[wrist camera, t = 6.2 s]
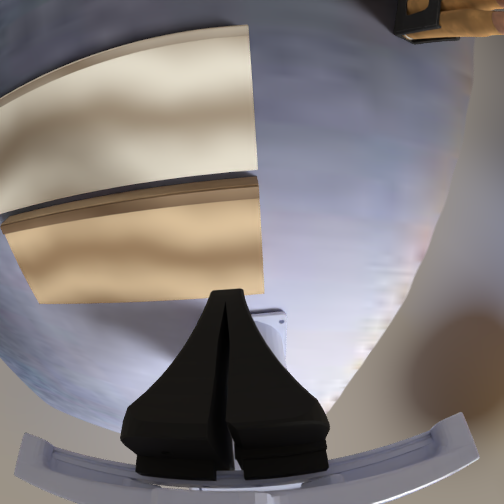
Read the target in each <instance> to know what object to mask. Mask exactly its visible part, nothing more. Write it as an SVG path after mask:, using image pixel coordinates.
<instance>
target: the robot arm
mask: <svg viewBox="0 0 504 504" xmlns="http://www.w3.org/2000/svg"><path fill="white" fill-rule="evenodd" d="M280 320H282V321H280ZM286 335H287V315H286V313H285V312H272V313H261V314H250V311H249V309H248V306H247V303H246V300H245V296H244V290H243V289H241V288H237V289H225V290H213V291H212V292H211V293H210V296H209V298H208V301H207V304H206V306H205V308H204V311H203V313H202V315H201V317H200V319H199V321H198V323H197V325H196V327H195V329H194V330H193V332H192V334H191V336H190V337H189V339H188V341H187V342H186V344H185V345H184V347H183V349H182V350H181V351H180V353H179V354H178V356H177V357H176V358H175V360H174V361H173V362H172V364H171V365H170V366H169V367H168V369H167V370H166V371H165V372H164V373H163V374H162V376H161V377H160V378H159V379H158V380H157V381H156V382H155V383H154V384H153V385H152V386H151V387H150V388H149V389H148V390H147V391H146V392H145V393H144V394H143V395H142V396H140V397H139V398H138V399H137V400H136V401H135V402H133V403H132V404H131V405H130V406H129V407H128V408H127V411H126V414H125V417H124V420H123V425H122V430H121V436H120V439H121V441H122V443H123V444H124V445H125V446H126V447H128V448H129V449H130V450H132V451H133V452H134V453H135V454H137V460H136V465H132V464H126V463H120V462H115V461H109V460H104V459H100V458H95V457H90V456H86V455H82V454H79V453H75V452H71V451H68V450H64V449H61V448H57V447H54V446H53V445H52V444H50V443H49V442H48V441H46V440H44V439H42V438H40V437H37V436H34V435H31V434H28V433H24V436H23V439H22V443H21V447H20V451H19V455H18V459H17V463H16V468H15V472H14V475H15V476H16V477H18V478H20V479H22V480H24V481H26V482H28V483H30V484H32V485H34V486H36V487H38V488H40V489H42V490H45V491H47V492H49V493H52V494H54V495H56V496H59V497H62V498H64V499H67V500H70V501H73V502H75V503H78V504H383V503H386V502H389V501H392V500H395V499H398V498H400V497H403V496H405V495H408V494H411V493H413V492H415V491H418V490H420V489H422V488H425V487H427V486H429V485H431V484H434V483H436V482H438V481H440V480H442V479H444V478H446V477H448V476H450V475H452V474H454V473H456V472H457V471H459V470H461V469H463V468H465V467H466V466H468V465H470V464H471V463H473V462H475V461H476V460H478V459H479V454H478V451H477V448H476V446H475V443H474V440H473V437H472V435H471V433H470V430H469V427H468V425H467V422H466V420H465V418H464V415H463V413H462V412H459V413H457V414H455V415H453V416H451V417H448V418H446V419H444V420H442V421H440V422H438V423H437V424H435V425H434V426H433V427H432V428H431V430H429V431H427V432H424V433H421V434H419V435H416V436H413V437H411V438H408V439H405V440H402V441H399V442H396V443H393V444H390V445H387V446H383V447H380V448H377V449H373V450H369V451H366V452H362V453H358V454H354V455H350V456H345V457H341V458H336V459H331V460H328V458H327V453H326V449H327V445H326V440H325V438H326V436H327V434H328V432H329V430H330V425H329V422H328V419H327V416H326V414H325V412H324V410H323V408H322V407H321V405H320V403H319V402H318V400H317V399H316V398H315V397H314V396H312V395H311V394H310V393H309V392H308V391H307V390H306V389H305V388H303V387H302V386H301V385H300V384H299V383H298V382H297V381H296V380H295V379H294V378H293V376H292V375H291V374H290V373H289V372H288V371H287V366H286ZM153 484H156V485H153ZM158 485H165V486H176V487H188V488H189V490H182V489H169V488H161V487H160V486H158Z"/></svg>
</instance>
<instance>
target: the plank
mask: <svg viewBox="0 0 504 504" xmlns="http://www.w3.org/2000/svg"><path fill="white" fill-rule="evenodd" d="M248 170H258V167H257V151H256V134H255V119H254V103H253V88H252V74H251V60H250V46H249V30H248V25H237V26H224V27H215V28H206V29H198V30H192V31H185V32H179V33H174V34H169V35H164V36H159V37H154V38H150V39H145V40H141V41H137V42H134V43H130V44H126V45H123V46H119V47H116V48H113V49H109V50H106V51H103V52H100V53H97V54H94V55H91V56H89V57H86V58H83V59H80V60H78V61H75V62H73V63H70V64H68V65H65V66H63V67H61V68H58V69H56V70H54V71H51V72H49V73H47V74H45V75H43V76H41V77H39V78H37V79H35V80H32V81H31V82H29V83H27V84H25V85H23V86H21V87H19V88H17V89H15V90H14V91H12V92H10V93H8V94H7V95H5V96H3V97H2V98H0V214H2V213H5V212H9V211H12V210H16V209H20V208H23V207H27V206H31V205H35V204H39V203H43V202H47V201H52V200H56V199H60V198H65V197H69V196H74V195H79V194H83V193H88V192H93V191H98V190H104V189H109V188H115V187H120V186H126V185H132V184H138V183H145V182H151V181H158V180H165V179H173V178H180V177H188V176H197V175H206V174H215V173H225V172H236V171H248Z"/></svg>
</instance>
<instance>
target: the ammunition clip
mask: <svg viewBox="0 0 504 504" xmlns="http://www.w3.org/2000/svg"><path fill="white" fill-rule="evenodd" d="M502 8H504V0H398V7H397V14H396V21H395V27H394V34H395V35H396V36H398V37H400V38H402V39H404V40H406V41H408V42H410V43H412V44H414V45H415V44H423V43H431V42H441V41H457V40H460V37H486V36H491V35H504V12H502V11H490V10H493V9H502Z"/></svg>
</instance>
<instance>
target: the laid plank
mask: <svg viewBox="0 0 504 504" xmlns="http://www.w3.org/2000/svg"><path fill="white" fill-rule="evenodd" d="M0 227H1V230H2V232H3V234H5V236H6V238H7V240H8V243H9V245H10V247H11V249H12V252H13V254H14V256H15V258H16V260H17V262H18V264H19V266H20V268H21V270H22V272H23V274H24V276H25V278H26V280H27V282H28V284H29V286H30V288H31V290H32V291H33V293H34V295H35V297H36V299H37V300H38V302H39V304H81V303H120V302H145V301H166V300H184V299H200V298H209V296H210V293H211V292H212V291H213V290H225V289H237V288H241V289H243V290H244V295H253V294H264V276H263V257H262V238H261V220H260V203H259V185H258V180H257V176H256V177H243V178H232V179H221V180H211V181H202V182H193V183H185V184H177V185H169V186H161V187H154V188H147V189H141V190H134V191H128V192H122V193H116V194H110V195H104V196H99V197H94V198H88V199H83V200H78V201H73V202H68V203H64V204H59V205H54V206H50V207H45V208H41V209H37V210H33V211H28V212H24V213H20V214H17V215H13V216H10V217H9V218H7V219H6V220H5V221H4V222H3V223H2V224H1V226H0Z"/></svg>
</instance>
